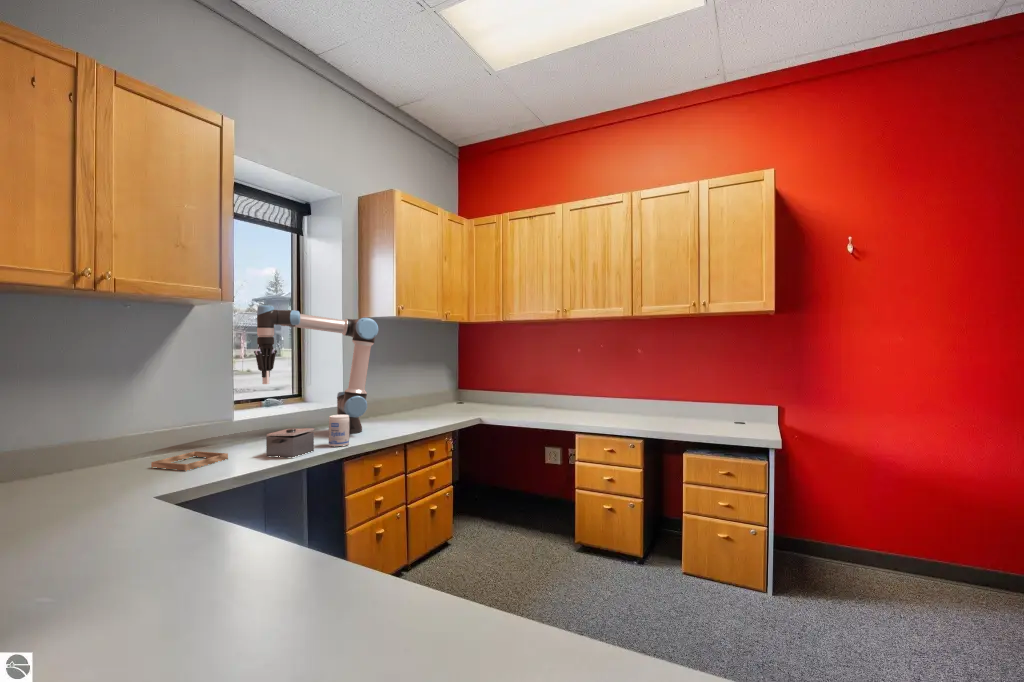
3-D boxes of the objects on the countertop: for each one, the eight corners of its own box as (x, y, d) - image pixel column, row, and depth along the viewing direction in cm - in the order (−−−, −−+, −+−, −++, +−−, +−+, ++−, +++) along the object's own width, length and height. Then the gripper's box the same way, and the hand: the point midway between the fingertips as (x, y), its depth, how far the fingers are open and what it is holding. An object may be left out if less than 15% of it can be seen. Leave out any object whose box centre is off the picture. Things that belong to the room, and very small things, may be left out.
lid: (287, 430, 229) (287, 427, 229) (314, 430, 225) (314, 426, 225) (265, 436, 215) (265, 432, 215) (293, 435, 211) (293, 432, 211)
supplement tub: (330, 448, 231) (329, 417, 231) (327, 444, 239) (327, 415, 239) (351, 446, 236) (350, 416, 236) (347, 442, 244) (347, 413, 244)
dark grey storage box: (291, 448, 231) (291, 429, 231) (317, 450, 227) (316, 431, 227) (262, 457, 213) (262, 437, 213) (289, 459, 209) (289, 439, 209)
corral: (195, 456, 215) (195, 451, 215) (227, 459, 210) (227, 453, 210) (151, 468, 196) (151, 462, 196) (186, 471, 191) (186, 464, 191)
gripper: (269, 336, 246) (269, 382, 246) (249, 336, 233) (249, 385, 233) (281, 336, 244) (281, 383, 244) (262, 336, 231) (262, 385, 232)
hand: (265, 383), depth 239 cm, fingers closed
